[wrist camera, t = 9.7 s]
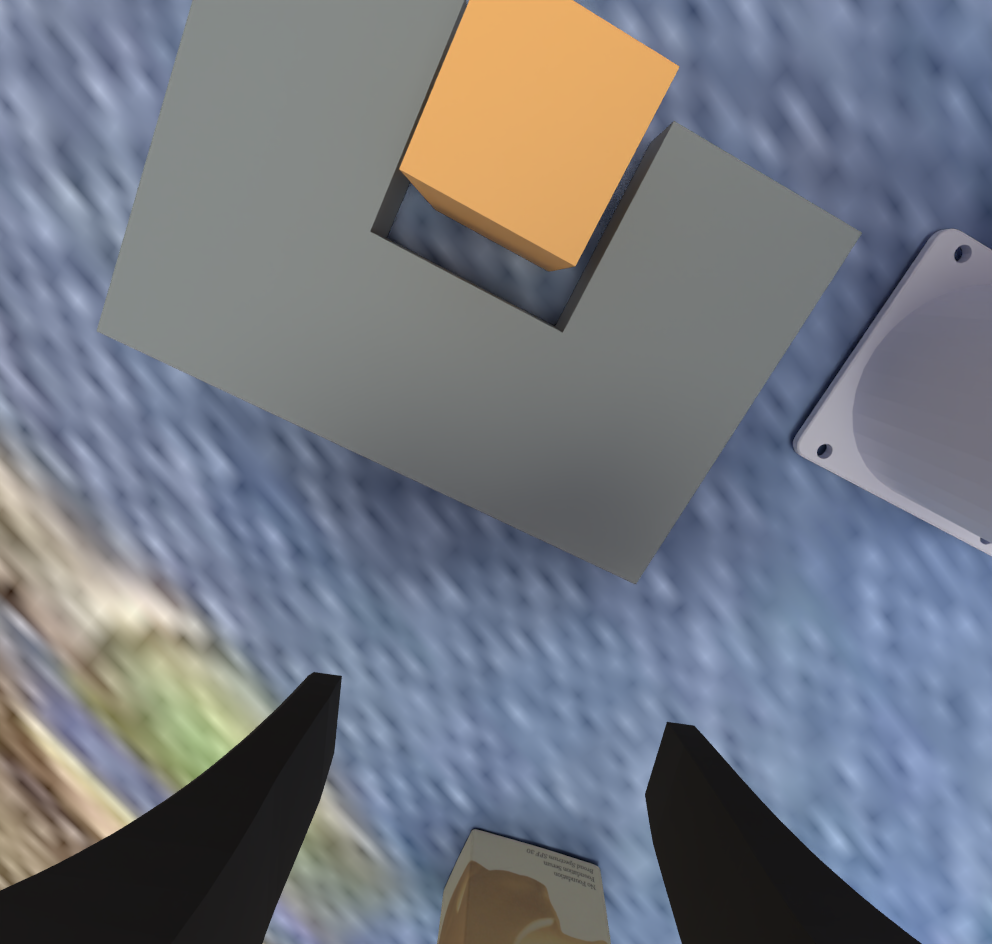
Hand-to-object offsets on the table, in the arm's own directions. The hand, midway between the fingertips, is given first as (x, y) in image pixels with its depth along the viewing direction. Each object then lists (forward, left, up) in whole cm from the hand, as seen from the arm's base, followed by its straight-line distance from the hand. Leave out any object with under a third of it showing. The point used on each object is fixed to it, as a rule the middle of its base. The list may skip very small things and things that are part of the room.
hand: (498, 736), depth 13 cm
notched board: (+5, -8, -9) cm, 13 cm away
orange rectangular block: (+5, -11, -10) cm, 16 cm away
